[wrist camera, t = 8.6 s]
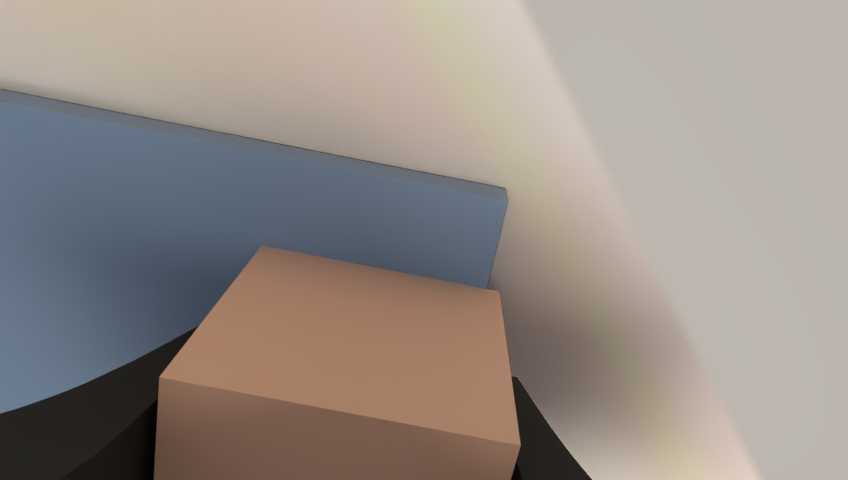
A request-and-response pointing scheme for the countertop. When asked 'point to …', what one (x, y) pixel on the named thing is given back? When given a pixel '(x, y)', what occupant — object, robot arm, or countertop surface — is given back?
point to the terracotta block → (340, 379)
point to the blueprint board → (188, 231)
